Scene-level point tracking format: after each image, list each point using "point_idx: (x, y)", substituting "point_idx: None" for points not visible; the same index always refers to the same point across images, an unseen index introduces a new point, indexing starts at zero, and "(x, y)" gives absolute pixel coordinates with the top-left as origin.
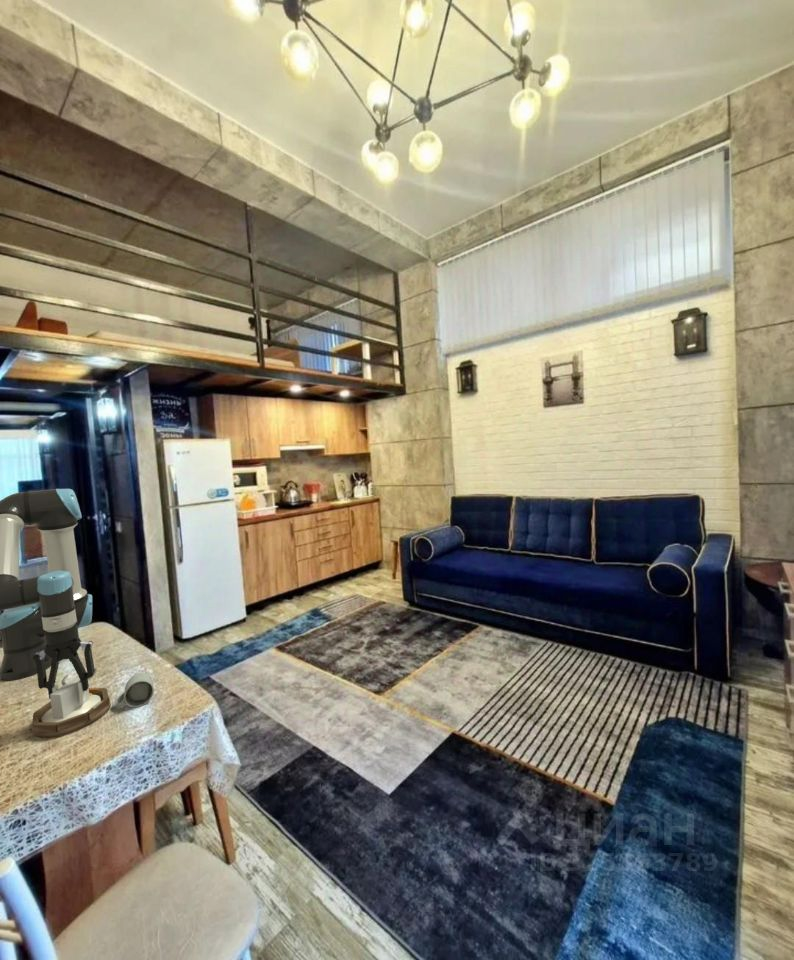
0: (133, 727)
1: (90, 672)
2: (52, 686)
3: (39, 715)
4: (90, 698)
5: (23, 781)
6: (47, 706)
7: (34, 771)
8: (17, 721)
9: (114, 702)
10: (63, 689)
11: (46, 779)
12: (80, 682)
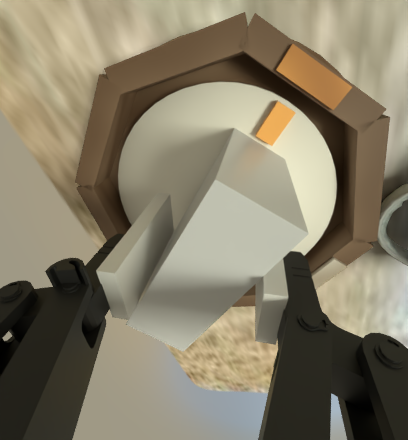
0: (399, 341)
1: (373, 430)
2: (103, 319)
3: (103, 182)
4: (287, 152)
5: (192, 357)
6: (104, 153)
7: (200, 347)
8: (16, 97)
9: (386, 213)
10: (177, 315)
11: (228, 371)
12: (272, 342)
